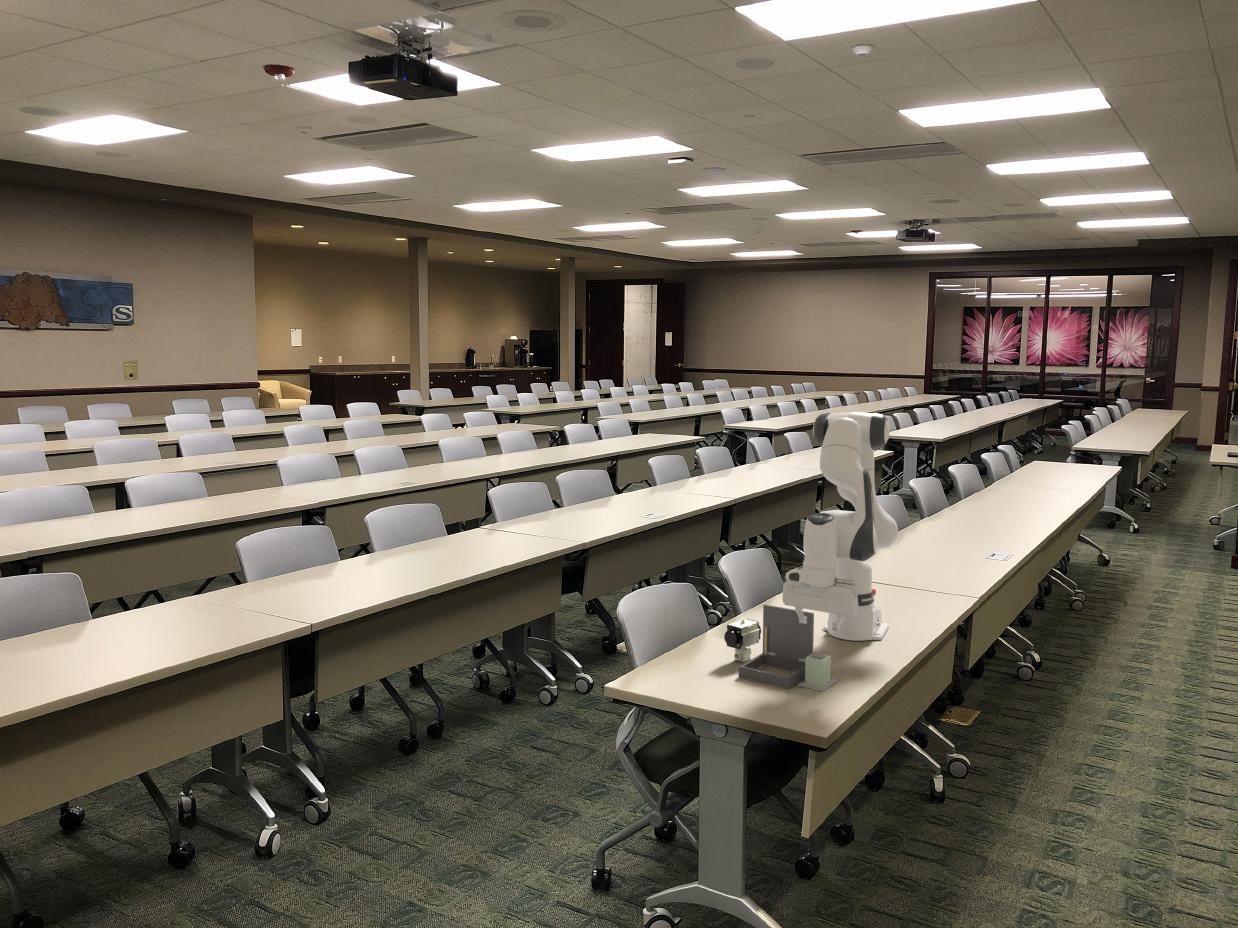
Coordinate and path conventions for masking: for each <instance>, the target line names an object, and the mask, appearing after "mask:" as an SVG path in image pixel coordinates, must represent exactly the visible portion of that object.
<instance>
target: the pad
mask: <svg viewBox="0 0 1238 928" xmlns="http://www.w3.org/2000/svg"><path fill="white" fill-rule="evenodd" d="M837 682H838V680H837V679H834V678H831V680H830V682H829V683H828V684H826V685H825V686H824V687H820V686H816V685H811V684H807V683H805V679H803V680H802V681H800V682H799V683H797V684H798V687H801V688H805V689H808V690H813V691H819V692H822V693H823V692H825V691H826V690H827V689H829V688H830V687H832V686H834V684H836V683H837Z"/></svg>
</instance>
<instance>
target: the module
mask: <svg viewBox="0 0 1238 928" xmlns="http://www.w3.org/2000/svg"><path fill="white" fill-rule="evenodd" d="M831 666H832V656H831V655H827V654H826V653H822V652H813V653H812V654H811V655H809V656H807V657H806V663H805V679H804V680H805V683H807V684H811V685H816V686H820V687H824V686H825V685H826V684H828V683H829V682H830V680H831V679H832V678H831V677H832V676H831V675H832V674H831V673H832V669H831V668H832V667H831Z"/></svg>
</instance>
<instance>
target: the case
mask: <svg viewBox="0 0 1238 928" xmlns="http://www.w3.org/2000/svg"><path fill="white" fill-rule="evenodd" d="M762 605H763V606H762V608H763V609H762V615H763V616H762V652H761V653H760V654H759V655H757V656H755V657H753V658H751V659H750V660H748V661H746V662H743V664H741V665H739V666H738V678H740V679H743V680H749V681H752V682H758V683H762V684H765V685H770V686H773V687H777V688H783V689H787V690H790V689H791V688H793V687H794V686H796V685H797V684H800V683H801V682H803V681H804V680H805V663H806V657H807V656H809V655H811V654H812V653H814V637H815V634H814V633H815V632H814V630H815V629H814V627H815V612H810V611H805V610H804V611H803V610H802V612H803V614H804V616H806V617H807V619H806V620H807V623H806V624H800V623H799V617H798V615H797V613H796V611H795V609H793V608H787V607H782V606H776V605H770V604H769V605H768V604H762ZM763 666H767V667H772V668H777V669H781V670H787V671H791V672H792V673H790V674H789V675H783V674H778V673H774V672H771V671H765V670H761V669H760V668H761V667H763Z"/></svg>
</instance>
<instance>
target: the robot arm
mask: <svg viewBox="0 0 1238 928" xmlns="http://www.w3.org/2000/svg"><path fill="white" fill-rule="evenodd" d="M812 433H813V434H812V435H813V439H814V442H815V443H816V444H817V445H818V446H819V447H821V450H820V455H819V469H820V471H821V474H822V475H823V477H824V478H825V479H826V480H827V481H828V482H830V483H831V484H833V485H835V486H836V489H837V493H838V494H839V495H840V497H842V498H843V499H844V500H846V501H848V502H849V503H851V504H852V506H853V507H854V509H855V511H851V510H841V509H832V510H825V511H824V510H823V511H821V512H816V513H812V514H810V515H808V517H806V520H805V524H804V525H805V526H804V531H803V537H802V538H803V543H802V545H803V548H802V549H803V552H804V558H803V559H804V560H803V562H802V565H803V566H800V567H796V568H794V569H791V570H789V571H787V572H786V573H785V580H786V581H785V582H784V583H783V588H782V596H781V598H782V602H783V604H784V606H787V607H794V608H795V609H794V610H795V611H796V613H797V615H798V617H799V623H800V624H806V623H807V620H806V619H807V617H806V616H804V614H803V612H802V611H803V610H804V609H805V610H812V611H816V612H823V613H828V615H827V616H828V617H827V624H825V625H823V630H824V631H826V632H828V634H829V635H830V636H832V637H834V638H837V639H840V640H841V639H842V640H845V641H859V642H860V641H861V642H862V641H870V640H871V641H874V640H875V641H879V640H880V641H881V640H883V638H884V637H885V634H886V633H887V631H888V629H889V628H890V627H889V624H888V623H885V622H882V610H881V608H880V607H878V606H877V604H876V603H875V598H874V597H875V596H876V595H877V589H875V588H873V567H872V566H871V564H870V563H869V562H868V560H869V559H871V558H873V556H875V554H876V552H877V550H878V549H880V550H881V549H887V548H888V549H889V548H891V547H892V546H893V545H894V544H895V542H897V539H898V536H899V528H898V523H897V522H896V520H895V519H894V518H893V517H892V516H891V515H889V514H888V512H887V511H885V509H884V508H883V506H882V505H881V504H880V502H879V499H878V497H877V494H876V483H875V481H876V480H875V452H876V451H878V449H881V448H884V446H886V444H887V443H888V440H889V438H890V435H891V428H890V424H889V420H888V418H887V417H886V415H884V414H882V413H877V412H873V413H871V412H861V411H850V412H849V411H848V412H846V411H843V412H833V413H831V412H825V413H821V414H819V415H818V416H817V417H816V418H815V420H814V423H813V427H812Z"/></svg>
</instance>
